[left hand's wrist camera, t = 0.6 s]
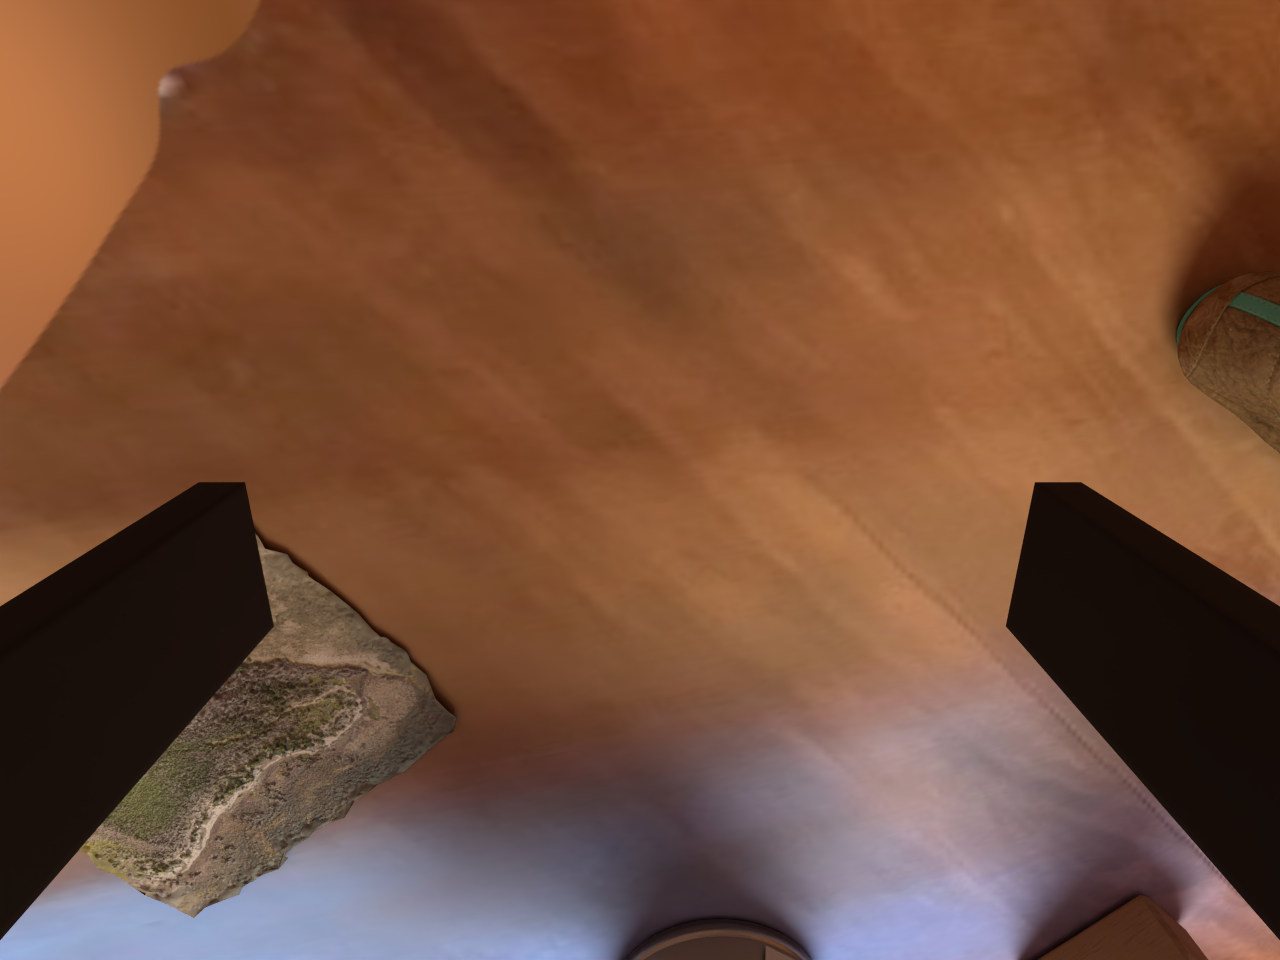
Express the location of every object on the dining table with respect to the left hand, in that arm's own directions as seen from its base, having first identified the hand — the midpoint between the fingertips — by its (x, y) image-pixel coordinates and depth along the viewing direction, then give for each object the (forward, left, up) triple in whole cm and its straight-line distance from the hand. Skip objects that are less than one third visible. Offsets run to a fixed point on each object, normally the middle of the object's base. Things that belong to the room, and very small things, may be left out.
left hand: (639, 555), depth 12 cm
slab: (-28, +25, -27) cm, 46 cm away
